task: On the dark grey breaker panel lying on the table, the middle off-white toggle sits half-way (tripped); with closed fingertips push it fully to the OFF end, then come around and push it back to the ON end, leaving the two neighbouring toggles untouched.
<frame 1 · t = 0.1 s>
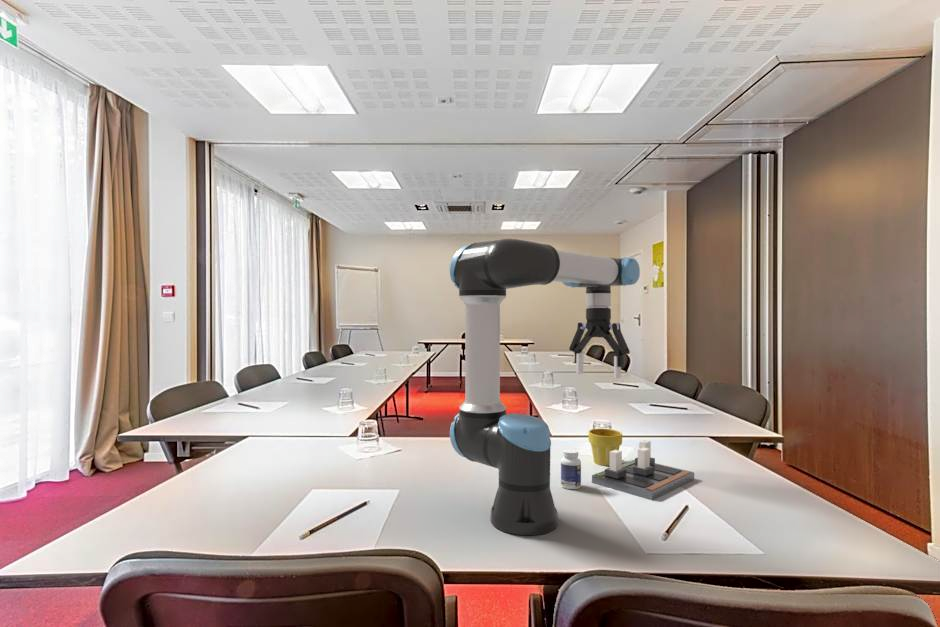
hand: (598, 375, 159), 28 cm above the table, fingers open, 13 cm apart
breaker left: (615, 463, 141), point 6 cm above the table, slide at 4.0 cm
breaker right: (644, 452, 152), point 6 cm above the table, slide at 4.0 cm
plant pot: (605, 463, 161), on the table
panel: (643, 480, 144), on the table
pill bottle: (570, 487, 139), on the table
breaker mid: (643, 460, 144), point 6 cm above the table, slide at 0.0 cm
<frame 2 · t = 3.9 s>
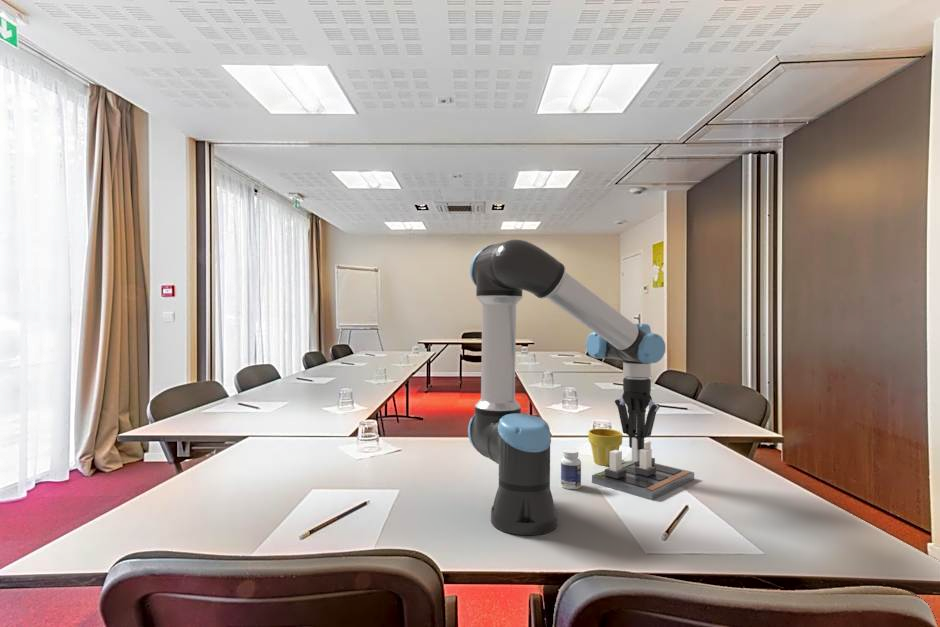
hand: (636, 460, 145), 5 cm above the table, fingers closed
breaker mid: (645, 461, 143), point 6 cm above the table, slide at -0.6 cm, touching gripper
everything else where it was.
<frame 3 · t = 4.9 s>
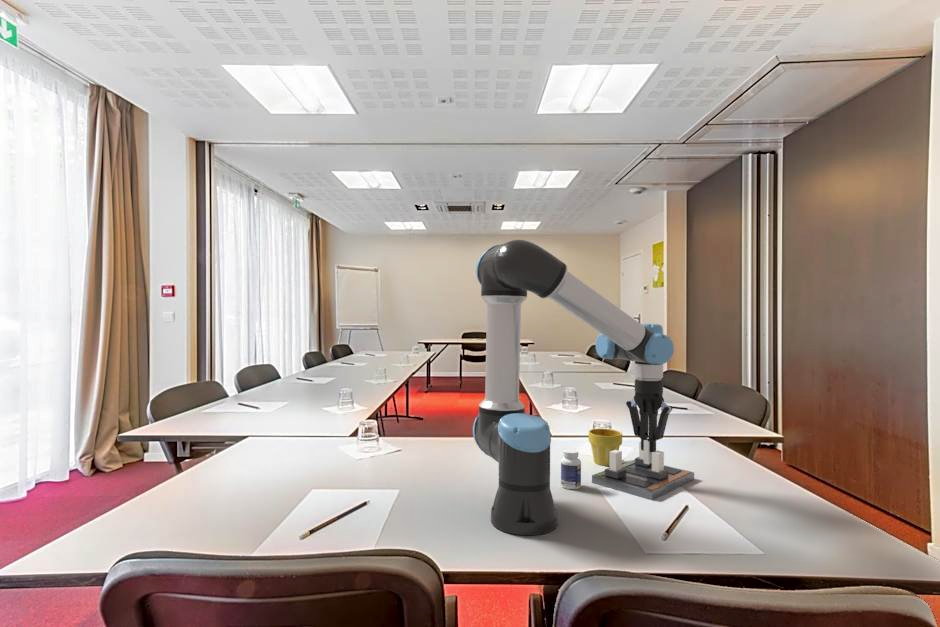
hand: (648, 462, 143), 5 cm above the table, fingers closed
breaker mid: (657, 464, 141), point 6 cm above the table, slide at -4.2 cm, touching gripper
everything else where it was.
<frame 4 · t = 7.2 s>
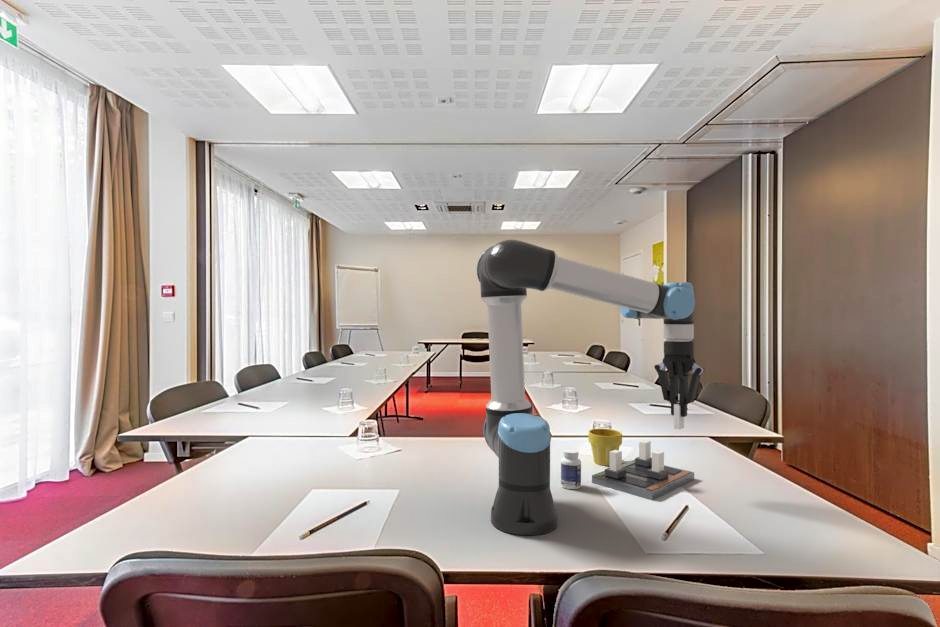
hand: (679, 428, 136), 17 cm above the table, fingers closed
breaker mid: (657, 464, 141), point 6 cm above the table, slide at -4.2 cm
everything else where it was.
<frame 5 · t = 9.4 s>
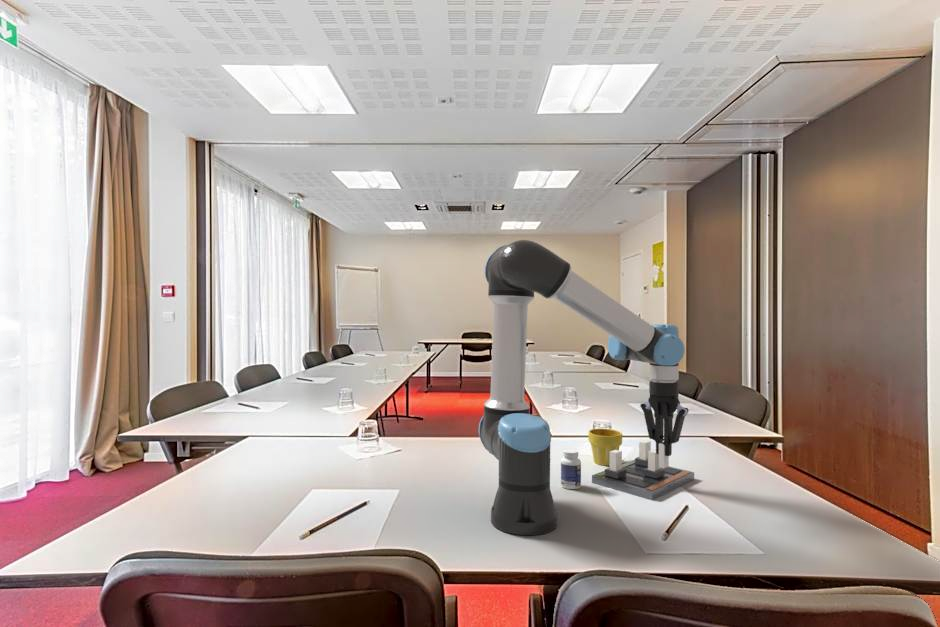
hand: (663, 466, 139), 5 cm above the table, fingers closed
breaker mid: (654, 463, 142), point 6 cm above the table, slide at -3.1 cm, touching gripper
everything else where it was.
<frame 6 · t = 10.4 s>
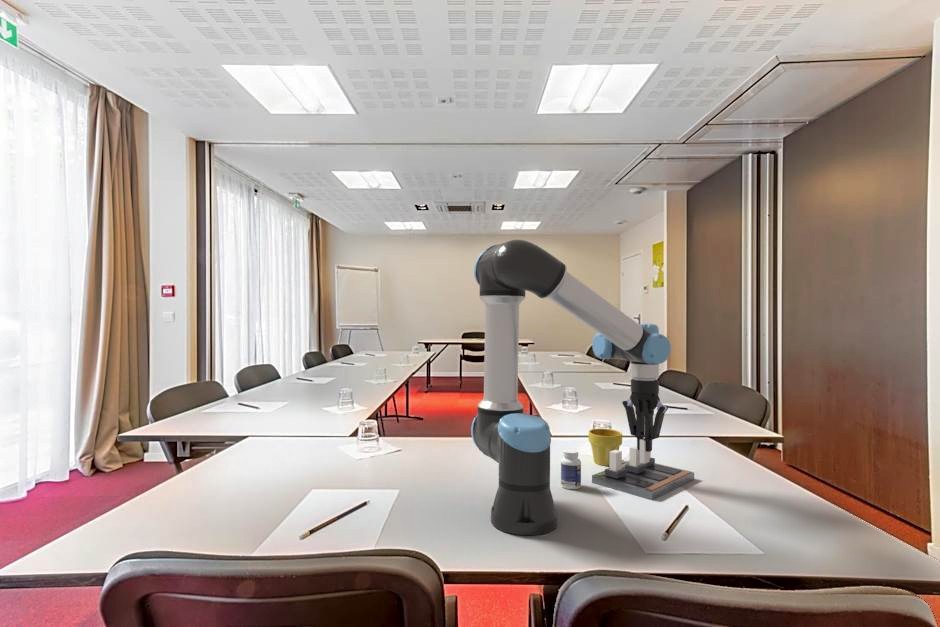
hand: (644, 462, 144), 5 cm above the table, fingers closed
breaker mid: (635, 458, 146), point 6 cm above the table, slide at 2.5 cm, touching gripper
everything else where it was.
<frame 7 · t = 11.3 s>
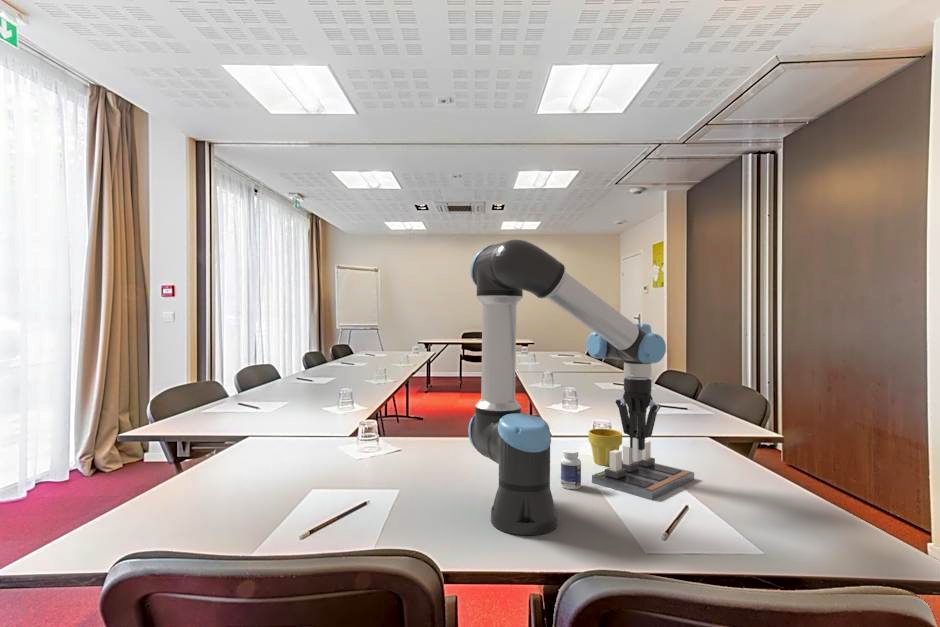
hand: (637, 460, 145), 5 cm above the table, fingers closed
breaker mid: (628, 457, 147), point 6 cm above the table, slide at 4.7 cm, touching gripper
everything else where it was.
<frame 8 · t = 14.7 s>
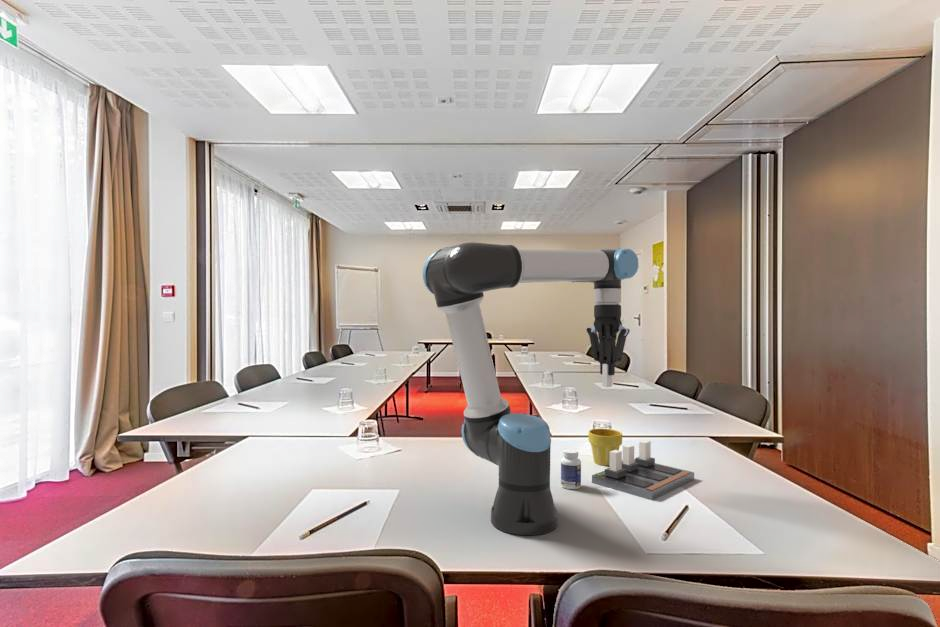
hand: (607, 386, 146), 26 cm above the table, fingers closed
breaker mid: (628, 457, 147), point 6 cm above the table, slide at 4.8 cm
everything else where it was.
at the end: breaker mid slide at 4.8 cm; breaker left slide at 4.0 cm; breaker right slide at 4.0 cm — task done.
